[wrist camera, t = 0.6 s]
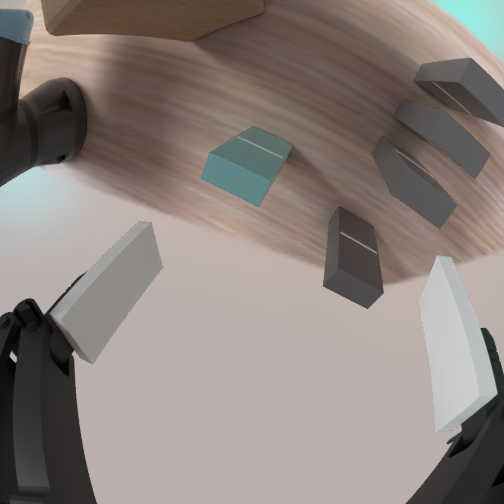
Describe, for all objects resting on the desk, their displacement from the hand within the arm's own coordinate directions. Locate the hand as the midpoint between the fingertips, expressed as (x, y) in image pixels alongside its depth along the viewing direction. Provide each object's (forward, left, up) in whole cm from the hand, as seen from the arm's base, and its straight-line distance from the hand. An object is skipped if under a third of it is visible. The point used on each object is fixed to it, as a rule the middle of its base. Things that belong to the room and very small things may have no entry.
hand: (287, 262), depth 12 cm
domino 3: (+8, +14, -21) cm, 26 cm away
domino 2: (+8, -6, -21) cm, 23 cm away
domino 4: (+8, +9, -21) cm, 24 cm away
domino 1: (-5, -2, -21) cm, 22 cm away
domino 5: (+8, +4, -21) cm, 23 cm away
